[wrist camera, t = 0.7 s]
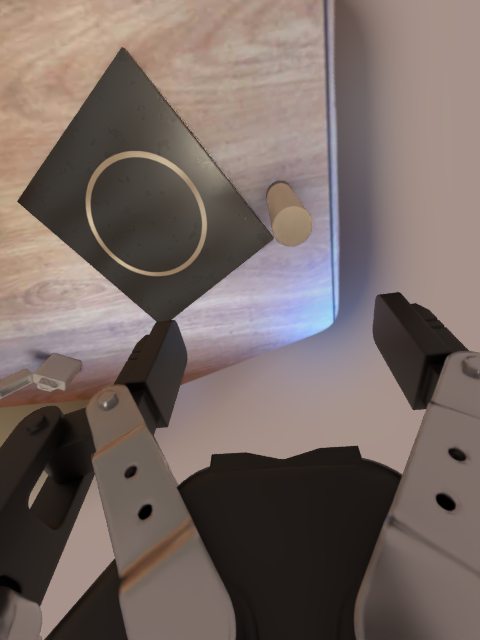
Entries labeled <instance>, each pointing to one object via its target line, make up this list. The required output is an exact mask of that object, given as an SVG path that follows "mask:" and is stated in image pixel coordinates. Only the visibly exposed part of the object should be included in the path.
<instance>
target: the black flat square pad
mask: <svg viewBox="0 0 480 640" xmlns="http://www.w3.org/2000/svg"><path fill="white" fill-rule="evenodd" d="M17 202H18V203H19V204H21V205H22V206H23V207H24V208H25V209H26V210H28V211H29V212H30V213H31V214H32V215H33V216H35V217H36V218H37V219H38V220H39V221H40V222H42V223H43V224H44V225H45V226H46V227H47V228H49V229H50V230H51V231H52V232H53V233H54V234H55V235H57V236H58V237H59V238H60V239H61V240H62V241H64V242H65V243H66V244H67V245H68V246H69V247H71V248H72V249H73V250H74V251H75V252H76V253H78V254H79V255H80V256H81V257H82V258H83V259H85V260H86V261H87V262H88V263H89V264H90V265H92V266H93V267H94V268H95V269H96V270H97V271H99V272H100V273H101V274H102V275H103V276H104V277H105V278H107V279H108V280H109V281H110V282H111V283H112V284H114V285H115V286H116V287H117V288H118V289H119V290H121V291H122V292H123V293H124V294H125V295H126V296H128V297H129V298H130V299H131V300H132V301H133V302H135V303H136V304H137V305H138V306H139V307H140V308H142V309H143V310H144V311H145V312H146V313H147V314H149V315H150V316H151V317H152V318H153V319H154V320H155V321H157V322H161V321H169V320H171V319H173V318H174V317H175V316H177V315H178V314H179V313H180V312H182V311H183V310H184V309H185V308H187V307H188V306H189V305H190V304H192V303H193V302H194V301H196V300H197V299H198V298H199V297H201V296H202V295H203V294H204V293H206V292H207V291H208V290H209V289H211V288H212V287H213V286H214V285H216V284H217V283H218V282H220V281H221V280H222V279H223V278H225V277H226V276H227V275H228V274H230V273H231V272H232V271H233V270H235V269H236V268H237V267H239V266H240V265H241V264H242V263H244V262H245V261H246V260H247V259H249V258H250V257H251V256H252V255H254V254H255V253H256V252H258V251H259V250H260V249H261V248H263V247H264V246H265V245H266V244H268V243H269V242H270V241H271V240H273V236H272V235H271V234H270V232H269V231H268V230H267V229H266V227H265V226H264V225H263V224H262V222H261V221H260V220H259V219H258V217H257V216H256V215H255V213H254V212H253V211H252V210H251V208H250V207H249V206H248V205H247V203H246V202H245V201H244V199H243V198H242V197H241V196H240V194H239V193H238V192H237V191H236V189H235V188H234V187H233V185H232V184H231V183H230V182H229V180H228V179H227V178H226V177H225V175H224V174H223V173H222V171H221V170H220V169H219V168H218V166H217V165H216V164H215V163H214V161H213V160H212V159H211V158H210V156H209V155H208V154H207V152H206V151H205V150H204V149H203V147H202V146H201V145H200V144H199V142H198V141H197V140H196V138H195V137H194V136H193V135H192V133H191V132H190V131H189V130H188V128H187V127H186V126H185V124H184V123H183V122H182V121H181V119H180V118H179V117H178V116H177V114H176V113H175V112H174V110H173V109H172V108H171V107H170V105H169V104H168V103H167V102H166V100H165V99H164V98H163V97H162V95H161V94H160V93H159V91H158V90H157V89H156V88H155V86H154V85H153V84H152V83H151V81H150V80H149V79H148V77H147V76H146V75H145V74H144V72H143V71H142V70H141V69H140V67H139V66H138V65H137V63H136V62H135V61H134V60H133V58H132V57H131V56H130V55H129V53H128V52H127V51H126V49H124V48H123V47H122V48H121V49H120V51H119V52H118V54H117V55H116V57H115V58H114V60H113V61H112V63H111V64H110V66H109V67H108V68H107V70H106V71H105V73H104V74H103V76H102V77H101V79H100V80H99V82H98V83H97V85H96V86H95V88H94V89H93V91H92V92H91V93H90V95H89V96H88V98H87V99H86V101H85V102H84V104H83V105H82V107H81V108H80V110H79V111H78V113H77V114H76V116H75V117H74V118H73V120H72V121H71V123H70V124H69V126H68V127H67V129H66V130H65V132H64V133H63V135H62V136H61V138H60V139H59V141H58V142H57V144H56V145H55V146H54V148H53V149H52V151H51V152H50V154H49V155H48V157H47V158H46V160H45V161H44V163H43V164H42V166H41V167H40V169H39V170H38V171H37V173H36V174H35V176H34V177H33V179H32V180H31V182H30V183H29V185H28V186H27V188H26V189H25V191H24V192H23V194H22V195H21V196H20V198H19V199H18V201H17Z"/></svg>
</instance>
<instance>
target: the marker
mask: <svg viewBox="0 0 480 640" xmlns="http://www.w3.org/2000/svg"><path fill="white" fill-rule="evenodd" d="M266 198H267V204H268V209H269V215H270V220H271V226H272V231H273V235H274V237H275V239H276V240H277V241H278V242H279V243H281V244H282V245H285V246H297V245H299V244H301V243H303V242H304V241H305V240H306V239H307V238H308V237H309V235H310V233H311V231H312V218H311V216H310V214H309V213H308V211H307V210H306V208H305V207H304V205H303V204H302V202H301V201H300V200H299V198H298V197H297V195H296V194H295V192H294V191H293V190H292V188H291V187H290V185H289V184H288V183H286V182H284V181H277V182H274V183H273V184H271V185H270V187H269V188H268V190H267V194H266Z"/></svg>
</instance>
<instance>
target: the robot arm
mask: <svg viewBox="0 0 480 640" xmlns="http://www.w3.org/2000/svg"><path fill="white" fill-rule="evenodd" d="M373 337H374V341H375V344H376V345H377V347H378V349H379V351H380V352H381V354H382V356H383V358H384V360H385V361H386V363H387V365H388V367H389V368H390V370H391V372H392V374H393V376H394V377H395V379H396V381H397V383H398V384H399V386H400V388H401V390H402V391H403V393H404V395H405V397H406V398H407V400H408V402H409V404H410V405H411V407H412V409H413V410H421V409H426V412H425V414H424V417H423V420H422V423H421V425H420V428H419V431H418V434H417V436H416V439H415V442H414V445H413V447H412V450H411V453H410V456H409V458H408V461H407V464H406V467H405V469H404V472H403V475H402V474H401V473H399V472H398V471H396V470H394V469H392V468H390V467H388V466H386V465H383V464H381V463H378V462H376V461H372V460H369V459H365V458H362V457H361V454H360V451H359V448H358V446H347V447H329V448H319V449H316V450H313V451H309V452H306V453H303V454H300V455H297V456H293V457H290V458H287V459H277V458H272V457H266V456H261V455H256V454H251V453H230V454H229V453H228V454H214V455H213V454H212V456H211V464H210V467H207V468H204V469H202V470H200V471H198V472H196V473H194V474H193V475H191V476H190V477H188V478H187V479H186V480H184V481H183V482H182V483H181V484H180V485H179V484H178V482H177V480H176V478H175V477H174V475H173V473H172V470H171V468H170V467H169V465H168V463H167V461H166V459H165V457H164V455H163V453H162V451H161V449H160V447H159V445H158V443H157V441H156V439H155V437H154V433H155V430H156V428H162V427H168V425H169V421H170V418H171V414H172V411H173V408H174V404H175V401H176V398H177V394H178V391H179V388H180V384H181V381H182V377H183V374H184V371H185V367H186V364H187V350H186V347H185V344H184V341H183V338H182V335H181V333H180V330H179V327H178V324H177V322H176V321H175V320H169V321H161V322H156V323H155V325H154V327H153V329H152V331H151V333H150V335H145V336H144V337H143V338H142V339H141V340H140V341H139V342H138V343H137V344H136V346H135V348H134V349H133V351H132V354H131V355H130V356H129V358H128V361H127V362H126V364H125V365H124V367H123V369H122V371H121V372H120V374H119V376H118V378H117V380H116V381H115V383H114V385H111V386H108V387H106V388H104V389H102V390H100V391H99V392H97V393H96V394H95V395H94V396H93V397H92V398H91V399H90V400H89V402H88V403H87V406H86V408H83V409H80V410H77V411H74V412H71V413H68V414H65V415H64V414H63V413H62V412H61V410H60V409H59V408H58V407H56V406H47V407H43V408H40V409H38V410H36V411H34V412H32V413H31V414H29V415H28V416H26V417H25V418H24V419H23V420H22V421H21V422H20V423H19V424H18V425H17V426H16V428H15V429H14V430H13V432H12V433H11V434H10V435H9V437H8V438H7V439H6V441H5V442H4V443H3V445H2V446H1V447H0V640H42V638H41V636H40V631H41V626H42V612H41V609H40V605H41V603H42V600H43V598H44V595H45V593H46V591H47V588H48V586H49V583H50V581H51V579H52V576H53V574H54V571H55V569H56V567H57V564H58V562H59V559H60V557H61V555H62V552H63V550H64V547H65V545H66V543H67V540H68V538H69V535H70V533H71V531H72V528H73V526H74V523H75V521H76V518H77V516H78V514H79V511H80V509H81V506H82V504H83V502H84V499H85V497H86V494H87V492H88V489H89V487H90V485H91V482H92V480H93V477H94V475H95V476H96V480H97V484H98V489H99V493H100V497H101V502H102V505H103V510H104V514H105V518H106V522H107V527H108V531H109V535H110V539H111V543H112V547H113V552H114V556H115V559H114V560H113V561H112V562H111V563H110V564H109V566H108V567H107V568H106V569H105V570H104V571H103V572H102V574H101V575H100V576H99V577H98V578H97V579H96V581H95V582H94V583H93V584H92V585H91V586H90V587H89V589H88V590H87V591H86V592H85V593H84V595H83V596H82V597H81V598H80V599H79V600H78V601H77V603H76V604H75V605H74V606H73V607H72V608H71V609H70V611H69V612H68V613H67V614H66V615H65V616H64V618H63V619H62V620H61V621H60V622H59V623H58V625H57V626H56V627H55V628H54V629H53V630H52V631H51V633H50V634H49V635H48V636H47V637H46V638H45V639H44V640H480V353H478V352H473V351H469V350H468V349H467V348H465V346H464V345H463V344H462V343H461V342H460V341H459V340H458V339H457V338H456V337H455V336H454V335H453V334H452V333H451V332H450V331H449V330H448V329H447V328H446V327H444V325H443V324H442V323H441V322H440V321H439V320H437V317H436V316H435V315H434V314H432V312H431V311H430V310H428V309H426V308H424V307H422V306H420V305H418V304H416V303H414V304H410V303H409V302H408V301H407V300H406V299H405V297H404V296H403V295H402V294H401V293H399V292H397V293H389V294H381V295H377V296H376V299H375V308H374V320H373ZM43 470H44V471H45V472H46V473H47V474H48V477H47V479H46V481H45V483H44V485H43V486H42V488H41V490H40V492H39V494H38V495H37V497H36V499H35V501H34V503H33V504H32V506H31V508H30V510H29V507H28V500H29V496H30V493H31V491H32V489H33V488H34V486H35V484H36V482H37V481H38V479H39V477H40V475H41V474H42V472H43Z"/></svg>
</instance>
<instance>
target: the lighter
mask: <svg viewBox="0 0 480 640" xmlns="http://www.w3.org/2000/svg"><path fill="white" fill-rule="evenodd" d="M80 369H81V361H79V360H76V359H72V358H69V357H65V356H62V355H58V354H55V353H53V354H52V355H51V356H50V357H49V358H48V359H47V360H46V361H45V362H44V363H43V364H42V365H41V366H40V367H39V368H38V369H37V371H36V372H35V373H34V374H32V373H31V372H30V371H29V370H27V369H23V370H21V371H19V372H17V373H14V374H12V375H10V376H8V377H6V378H3V379H1V380H0V399H1V398H3V397H5V396H7V395H9V394H11V393H13V392H15V391H17V390H19V389H21V388H23V387H25V386H27V385H29V384H31V383H32V382H33V381H34V382H35V383H37V388H39V389H43V390H46V391H50V392H51V391H52V390H54V389H61V390H65V389H66V388H67V386H68V385H69V384H70V382H71V381H72V380H73V378H74V377H75V376H76V374H77V373H78V372H79V370H80Z"/></svg>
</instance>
